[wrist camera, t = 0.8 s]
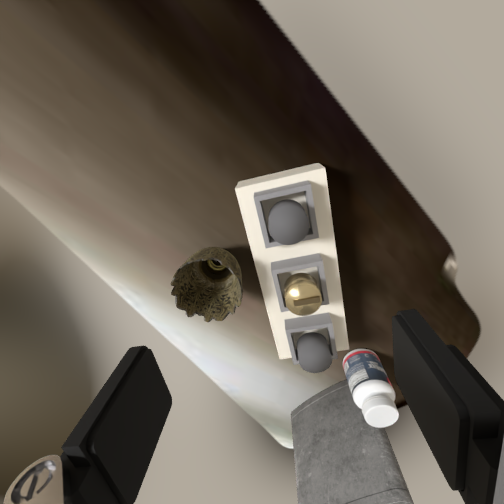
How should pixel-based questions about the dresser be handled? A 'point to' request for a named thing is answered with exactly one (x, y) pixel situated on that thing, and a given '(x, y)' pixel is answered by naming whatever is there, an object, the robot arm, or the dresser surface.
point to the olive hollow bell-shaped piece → (208, 284)
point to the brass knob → (302, 294)
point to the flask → (343, 454)
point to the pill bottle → (370, 387)
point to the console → (295, 256)
